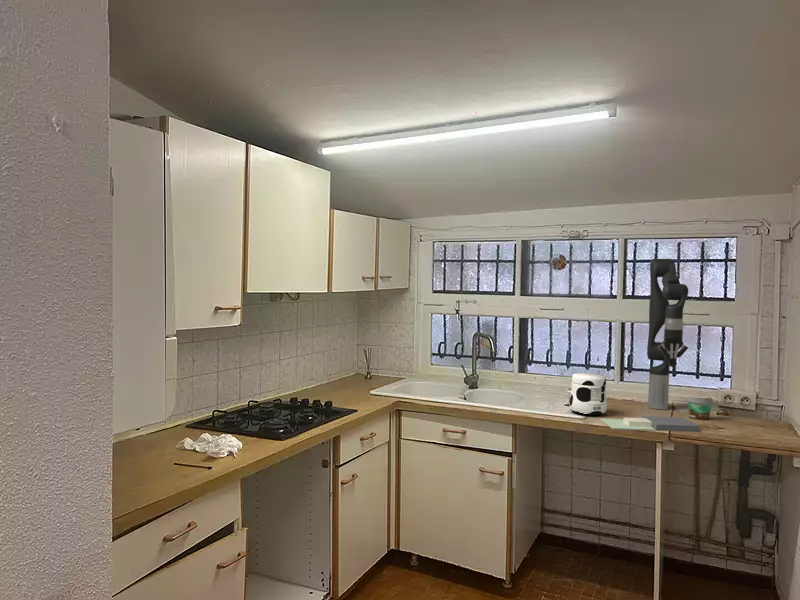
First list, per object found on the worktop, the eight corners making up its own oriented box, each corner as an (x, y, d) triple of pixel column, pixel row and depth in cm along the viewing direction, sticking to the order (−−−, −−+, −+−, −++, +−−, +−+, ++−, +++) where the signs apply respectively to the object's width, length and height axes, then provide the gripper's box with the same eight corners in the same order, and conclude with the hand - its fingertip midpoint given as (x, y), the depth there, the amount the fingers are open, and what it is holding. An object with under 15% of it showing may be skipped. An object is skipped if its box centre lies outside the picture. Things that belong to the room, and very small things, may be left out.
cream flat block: (623, 422, 265) (623, 417, 265) (646, 422, 265) (646, 418, 265) (628, 425, 258) (629, 421, 258) (652, 426, 258) (652, 422, 258)
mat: (600, 419, 271) (600, 418, 271) (640, 421, 270) (640, 419, 270) (612, 429, 254) (612, 427, 254) (655, 430, 253) (655, 429, 253)
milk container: (578, 407, 296) (579, 371, 295) (612, 413, 284) (613, 376, 284) (562, 413, 283) (563, 375, 282) (598, 419, 271) (599, 380, 271)
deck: (642, 421, 270) (642, 415, 270) (682, 422, 269) (682, 417, 269) (656, 430, 254) (656, 424, 254) (698, 431, 253) (699, 426, 253)
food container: (696, 421, 273) (697, 399, 273) (686, 418, 279) (687, 396, 278) (718, 420, 276) (719, 398, 276) (708, 417, 282) (709, 396, 282)
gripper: (685, 327, 270) (683, 365, 271) (655, 327, 271) (653, 364, 272) (692, 329, 262) (690, 368, 263) (661, 328, 263) (660, 367, 264)
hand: (671, 366), depth 267 cm, fingers closed
